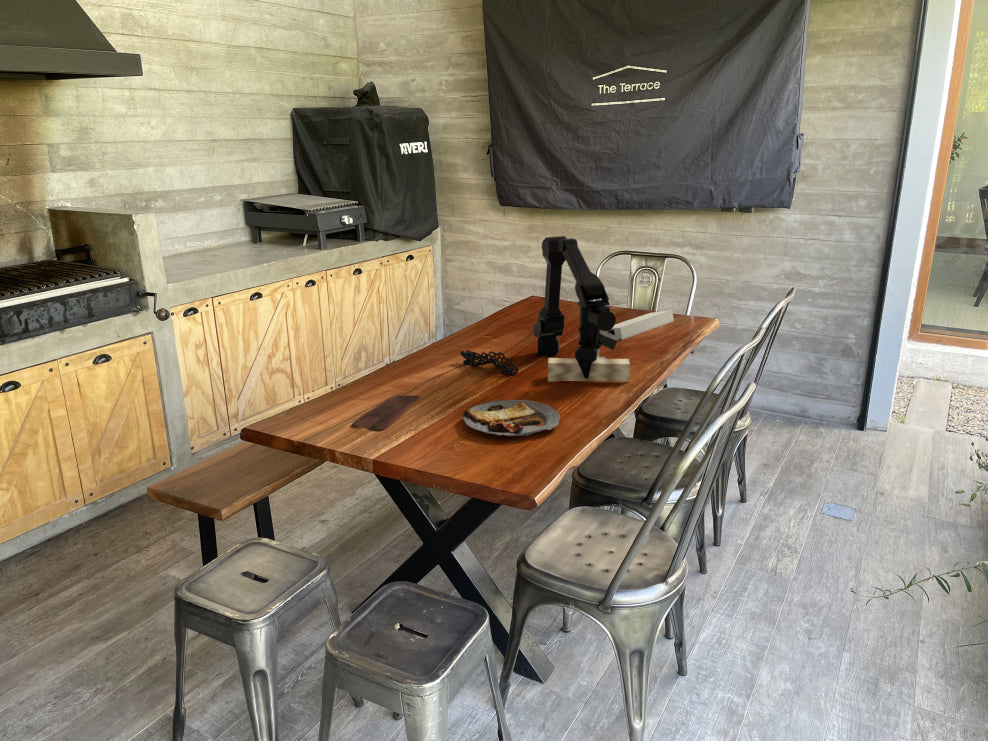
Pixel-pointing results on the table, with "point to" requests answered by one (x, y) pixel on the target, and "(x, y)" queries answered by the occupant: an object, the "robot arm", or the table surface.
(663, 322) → the decorative molding
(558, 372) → the maple beam
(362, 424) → the wooden tablet
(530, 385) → the table surface
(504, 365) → the decorative element
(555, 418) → the food plate
